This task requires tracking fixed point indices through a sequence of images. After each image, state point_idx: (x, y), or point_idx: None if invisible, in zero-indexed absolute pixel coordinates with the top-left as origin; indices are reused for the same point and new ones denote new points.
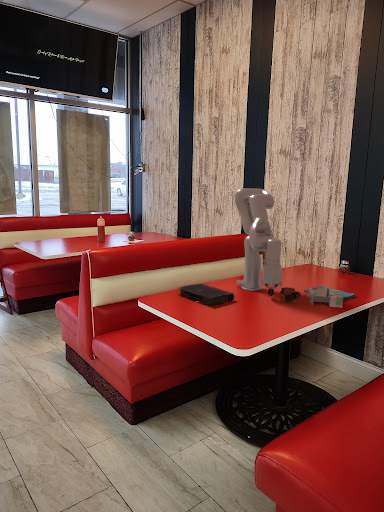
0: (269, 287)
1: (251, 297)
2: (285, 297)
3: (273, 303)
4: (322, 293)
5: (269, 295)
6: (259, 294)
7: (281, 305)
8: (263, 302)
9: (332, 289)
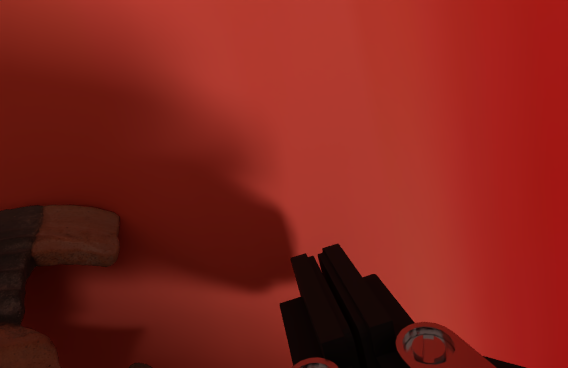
0: (422, 365)
1: (548, 173)
2: (11, 254)
3: (204, 54)
4: None
5: (336, 248)
6: None
7: (42, 8)
8: (360, 20)
9: None
